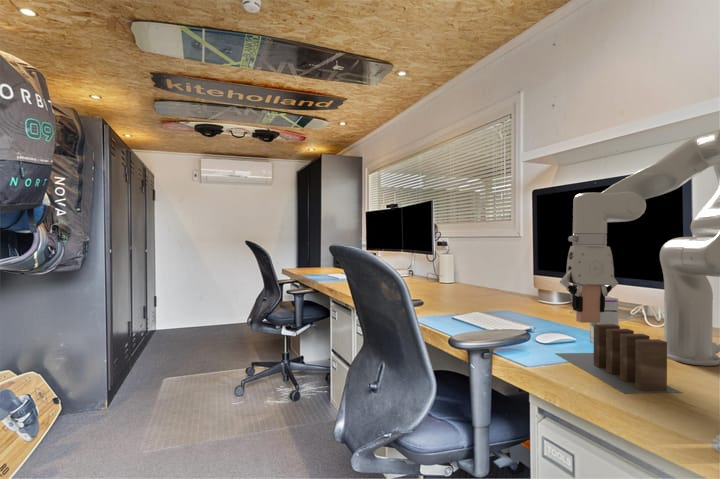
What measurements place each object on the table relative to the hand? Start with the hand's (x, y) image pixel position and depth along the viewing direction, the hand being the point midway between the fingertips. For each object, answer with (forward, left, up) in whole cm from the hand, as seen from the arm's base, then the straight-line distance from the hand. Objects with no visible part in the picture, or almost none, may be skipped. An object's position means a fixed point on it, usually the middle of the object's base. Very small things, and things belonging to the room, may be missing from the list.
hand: (588, 310), depth 97 cm
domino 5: (0, +20, -12) cm, 23 cm away
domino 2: (0, +7, -12) cm, 14 cm away
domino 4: (0, +16, -12) cm, 20 cm away
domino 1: (0, 0, -3) cm, 3 cm away
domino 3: (0, +11, -12) cm, 17 cm away
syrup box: (-12, -12, -13) cm, 22 cm away
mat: (+1, +9, -13) cm, 16 cm away
